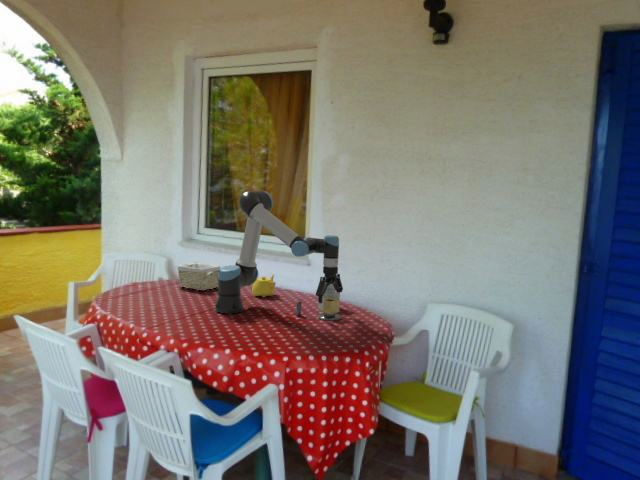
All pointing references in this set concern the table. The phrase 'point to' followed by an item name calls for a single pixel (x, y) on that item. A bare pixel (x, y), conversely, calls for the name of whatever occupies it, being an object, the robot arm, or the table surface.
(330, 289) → the supplement tub
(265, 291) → the teapot
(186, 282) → the storage basket
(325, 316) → the hub
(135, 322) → the table surface
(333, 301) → the collar
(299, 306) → the stand rod
